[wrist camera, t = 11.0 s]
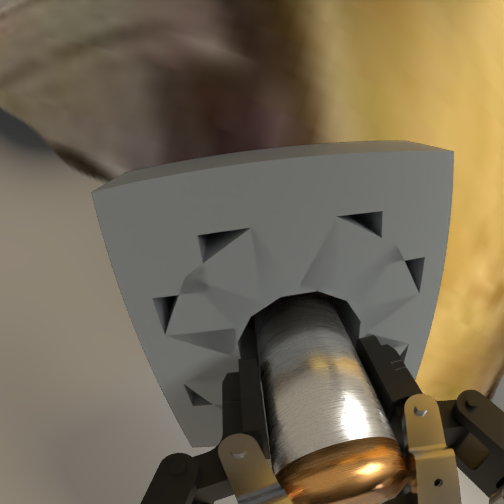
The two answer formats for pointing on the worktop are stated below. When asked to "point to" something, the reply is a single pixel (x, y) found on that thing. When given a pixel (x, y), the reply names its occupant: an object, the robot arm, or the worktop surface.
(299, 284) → the socket block
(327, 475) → the cylinder
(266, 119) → the worktop surface
